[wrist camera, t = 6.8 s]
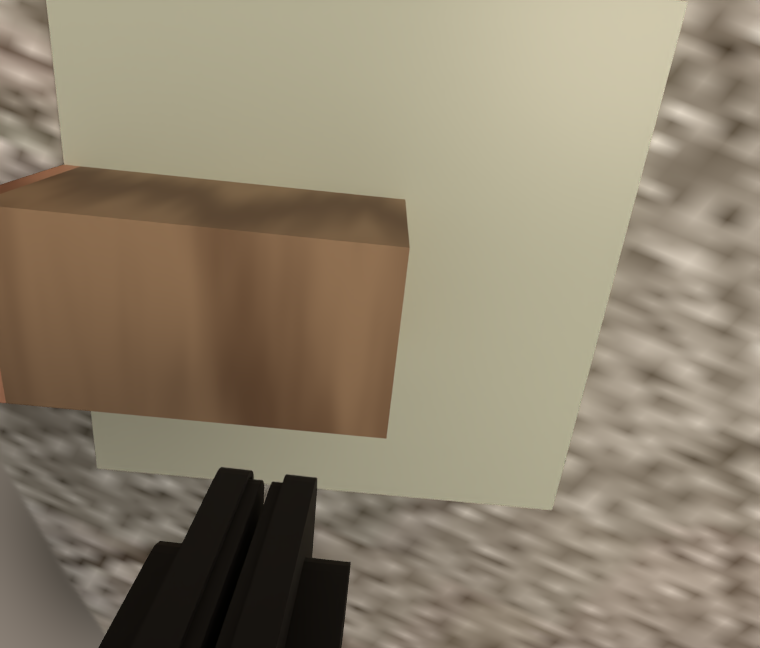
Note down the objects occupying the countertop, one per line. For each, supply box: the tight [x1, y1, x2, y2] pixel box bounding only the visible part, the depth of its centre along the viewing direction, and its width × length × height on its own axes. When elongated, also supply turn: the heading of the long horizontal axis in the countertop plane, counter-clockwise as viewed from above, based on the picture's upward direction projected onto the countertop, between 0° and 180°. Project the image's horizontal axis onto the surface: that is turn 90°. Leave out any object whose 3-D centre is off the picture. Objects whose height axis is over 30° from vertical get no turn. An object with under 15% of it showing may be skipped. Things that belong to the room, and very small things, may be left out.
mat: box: [46, 0, 688, 510], centre depth 23 cm, size 20×20×1 cm
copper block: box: [0, 165, 410, 439], centre depth 20 cm, size 6×6×12 cm
